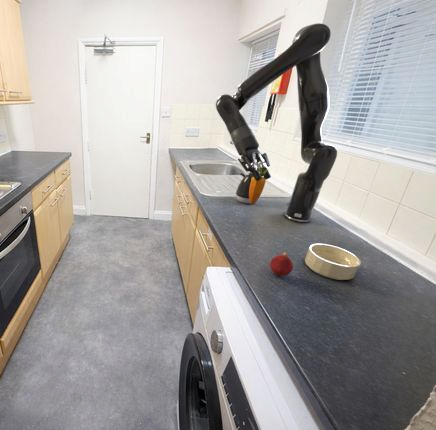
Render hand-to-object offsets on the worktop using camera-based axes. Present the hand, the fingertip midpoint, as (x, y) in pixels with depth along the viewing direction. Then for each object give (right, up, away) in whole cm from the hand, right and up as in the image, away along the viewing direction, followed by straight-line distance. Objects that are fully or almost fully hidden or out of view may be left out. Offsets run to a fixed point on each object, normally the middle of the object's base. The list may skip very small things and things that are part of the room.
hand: (263, 179), depth 98 cm
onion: (-6, -32, -17) cm, 37 cm away
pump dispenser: (+12, -7, +38) cm, 40 cm away
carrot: (-1, -9, +6) cm, 11 cm away
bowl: (+13, -31, -13) cm, 36 cm away
